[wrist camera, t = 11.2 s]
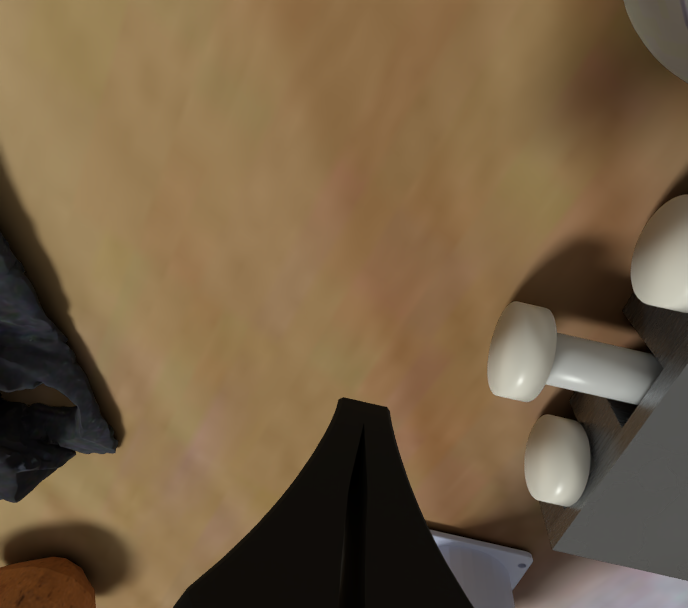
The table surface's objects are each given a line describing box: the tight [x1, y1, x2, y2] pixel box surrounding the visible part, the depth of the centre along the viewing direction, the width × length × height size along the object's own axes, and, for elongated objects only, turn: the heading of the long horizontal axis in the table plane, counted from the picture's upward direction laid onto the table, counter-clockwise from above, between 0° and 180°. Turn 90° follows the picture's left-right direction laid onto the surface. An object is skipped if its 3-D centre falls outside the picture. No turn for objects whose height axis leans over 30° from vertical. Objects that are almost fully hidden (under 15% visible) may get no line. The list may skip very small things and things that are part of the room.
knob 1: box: [524, 414, 596, 507], centre depth 23 cm, size 4×8×4 cm, turn 79°
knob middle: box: [487, 301, 664, 405], centre depth 20 cm, size 4×8×4 cm, turn 79°
